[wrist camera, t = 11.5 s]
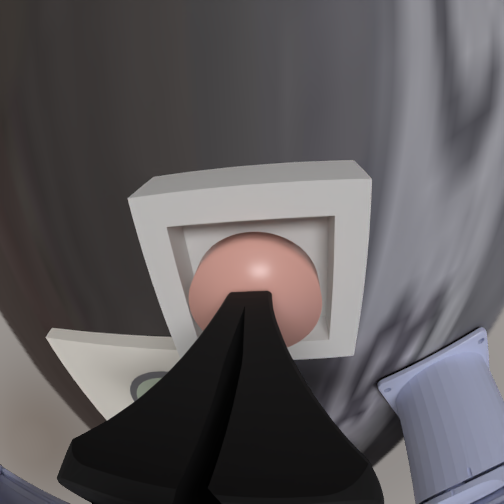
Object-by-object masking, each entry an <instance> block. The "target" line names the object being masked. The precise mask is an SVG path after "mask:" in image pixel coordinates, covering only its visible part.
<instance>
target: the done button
mask: <svg viewBox="0 0 504 504" xmlns="http://www.w3.org/2000/svg"><path fill="white" fill-rule="evenodd" d="M248 291H269V292H271V293H272V301H273V310H274V313H275V317H276V320H277V323H278V326H279V329H280V331H281V334H282V337H283V339H284V342H285V344H286V346H287V347H290V346H292V345H294V344H296V343H298V342H299V341H301V340H302V339H304V338H305V337H306V336H307V335H308V334H309V333H310V332H311V331H312V330H313V329H314V327H315V326H316V324H317V322H318V320H319V318H320V315H321V311H322V296H321V290H320V284H319V278H318V274H317V270H316V268H315V265H314V263H313V262H312V260H311V258H310V257H309V256H308V255H307V253H306V252H305V251H304V250H303V249H302V248H300V247H299V246H298V245H296V244H295V243H294V242H292V241H290V240H288V239H286V238H284V237H281V236H278V235H275V234H271V233H266V232H244V233H239V234H235V235H231V236H229V237H226V238H224V239H222V240H220V241H219V242H217V243H216V244H214V245H213V246H212V247H211V248H210V249H209V250H208V251H207V252H206V253H205V255H204V256H203V257H202V259H201V261H200V263H199V265H198V268H197V270H196V273H195V275H194V278H193V280H192V283H191V286H190V289H189V296H188V297H189V306H190V310H191V313H192V316H193V318H194V319H195V321H196V323H197V324H198V325H199V327H200V328H201V329H202V330H203V331H204V329H205V328H206V327H207V325H208V324H209V322H210V321H211V320H212V318H213V317H214V315H215V314H216V312H217V311H218V309H219V308H220V306H221V305H222V303H223V302H224V300H225V298H226V297H227V295H228V294H229V293H230V292H248Z"/></svg>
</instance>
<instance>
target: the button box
mask: <svg viewBox="0 0 504 504" xmlns="http://www.w3.org/2000/svg"><path fill="white" fill-rule="evenodd" d="M371 188H372V179H371V177H370V176H369V175H368V174H367V173H366V172H365V171H364V170H363V169H362V168H361V167H360V166H359V165H358V164H357V163H356V162H355V161H354V160H337V161H310V162H291V163H275V164H262V165H250V166H238V167H228V168H219V169H210V170H201V171H193V172H185V173H177V174H170V175H163V176H156V177H153V178H152V179H150V180H149V181H148V182H147V183H145V184H144V185H143V186H142V187H141V188H139V189H138V190H137V191H136V192H135V193H133V194H132V195H131V196H130V197H129V198H128V202H129V205H130V209H131V213H132V217H133V220H134V224H135V228H136V231H137V235H138V238H139V241H140V245H141V248H142V251H143V255H144V258H145V261H146V264H147V268H148V271H149V274H150V277H151V280H152V283H153V286H154V289H155V292H156V295H157V298H158V301H159V303H160V306H161V309H162V312H163V315H164V317H165V320H166V323H167V326H168V328H169V331H170V333H171V336H172V339H173V341H174V344H175V346H176V349H177V351H178V354H179V356H180V359H181V358H182V357H183V356H184V354H185V353H186V352H187V351H188V350H189V348H190V347H191V346H192V345H193V344H194V342H195V341H196V340H197V339H198V337H199V336H200V335H201V333H202V332H203V330H202V329H201V328H200V327H199V325H198V324H197V323H196V321H195V319H194V318H193V316H192V313H191V310H190V306H189V297H188V296H189V289H190V286H191V283H192V280H193V278H194V275H195V273H196V270H197V268H198V265H199V263H200V261H201V259H202V257H203V256H204V255H205V253H206V252H207V251H208V250H209V249H210V248H211V247H212V246H213V245H214V244H216V243H217V242H219V241H220V240H222V239H224V238H226V237H229V236H231V235H235V234H239V233H244V232H266V233H271V234H275V235H278V236H281V237H284V238H286V239H288V240H290V241H292V242H294V243H295V244H296V245H298V246H299V247H300V248H302V249H303V250H304V251H305V252H306V253H307V255H308V256H309V257H310V258H311V260H312V262H313V263H314V265H315V268H316V270H317V274H318V278H319V284H320V290H321V296H322V311H321V315H320V318H319V320H318V322H317V324H316V326H315V327H314V329H313V330H312V331H311V332H310V333H309V334H308V335H307V336H306V337H305V338H304V339H302V340H301V341H299V342H298V343H296V344H294V345H292V346H290V347H287V348H288V350H289V353H290V355H291V357H292V359H293V360H300V359H317V358H332V357H344V356H354V350H355V345H356V339H357V333H358V326H359V320H360V313H361V306H362V299H363V291H364V282H365V273H366V264H367V253H368V241H369V228H370V211H371Z"/></svg>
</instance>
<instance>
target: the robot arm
mask: <svg viewBox="0 0 504 504" xmlns="http://www.w3.org/2000/svg"><path fill="white" fill-rule="evenodd" d="M377 385H378V389H379V391H380V392H381V394H382V395H383V396H384V398H385V399H386V400H387V402H388V403H389V404H390V406H391V407H392V409H393V410H394V411H395V413H396V414H397V415H398V417H399V418H400V421H401V426H402V430H403V435H404V440H405V445H406V450H407V455H408V460H409V465H410V471H411V477H412V482H413V489H414V496H415V502H416V504H504V401H503V399H502V397H501V394H500V392H499V390H498V387H497V385H496V383H495V381H494V379H493V377H492V375H491V372H490V370H489V354H488V341H487V332H486V330H485V329H484V328H483V327H480V328H478V329H476V330H475V331H473V332H471V333H470V334H468V335H467V336H465V337H463V338H462V339H460V340H458V341H456V342H455V343H453V344H451V345H449V346H448V347H446V348H444V349H442V350H440V351H439V352H437V353H435V354H433V355H431V356H429V357H427V358H425V359H424V360H422V361H420V362H418V363H416V364H414V365H412V366H410V367H408V368H406V369H403V370H401V371H399V372H397V373H395V374H393V375H391V376H388V377H386V378H384V379H382V380H380V381H379V382H378V384H377ZM57 480H58V482H59V483H60V484H61V485H63V486H64V487H65V488H67V489H68V490H70V491H72V492H73V493H75V494H77V495H78V496H80V497H82V498H84V499H85V500H87V501H89V502H91V503H92V504H384V497H383V493H382V489H381V486H380V483H379V481H378V478H377V476H376V474H375V472H374V470H373V468H372V465H371V463H370V462H369V460H368V459H367V458H366V457H365V456H364V455H363V454H362V453H361V452H360V451H359V450H358V449H357V448H356V447H355V446H354V445H353V444H352V443H351V442H350V441H349V440H348V438H347V437H346V436H345V435H344V434H343V433H342V431H341V430H340V429H339V428H338V427H337V426H336V424H335V423H334V422H333V421H332V419H331V418H330V417H329V415H328V414H327V413H326V411H325V410H324V409H323V407H322V406H321V404H320V403H319V402H318V400H317V399H316V398H315V396H314V395H313V393H312V392H311V390H310V388H309V387H308V385H307V384H306V382H305V380H304V379H303V377H302V375H301V374H300V372H299V370H298V368H297V366H296V365H295V363H294V361H293V359H292V357H291V355H290V353H289V350H288V348H287V346H286V344H285V342H284V339H283V337H282V334H281V331H280V329H279V326H278V323H277V320H276V317H275V313H274V310H273V301H272V293H271V292H269V291H248V292H230V293H229V294H228V295H227V297H226V298H225V300H224V302H223V303H222V305H221V306H220V308H219V309H218V311H217V312H216V314H215V315H214V317H213V318H212V320H211V321H210V322H209V324H208V325H207V327H206V328H205V329H204V331H203V332H202V333H201V335H200V336H199V337H198V339H197V340H196V341H195V342H194V344H193V345H192V346H191V347H190V348H189V350H188V351H187V352H186V353H185V354H184V356H183V357H182V358H181V359H180V360H179V361H178V362H177V363H176V364H175V365H174V366H173V368H172V369H171V370H170V371H169V372H168V373H167V374H166V375H165V376H164V377H162V378H161V379H160V380H159V381H158V382H157V383H156V384H155V385H154V386H153V387H151V388H150V389H149V390H148V391H147V392H146V393H145V394H143V395H142V396H141V397H140V398H138V399H137V400H136V401H135V402H133V403H132V404H130V405H129V406H128V407H126V408H125V409H123V410H122V411H121V412H119V413H118V414H116V415H115V416H113V417H112V418H110V419H109V420H107V421H105V422H104V423H102V424H100V425H99V426H97V427H95V428H93V429H91V430H89V431H88V432H86V433H84V434H82V435H80V436H78V437H76V438H74V439H73V440H72V442H71V444H70V446H69V448H68V450H67V453H66V455H65V458H64V460H63V463H62V465H61V468H60V471H59V474H58V476H57ZM0 504H70V503H67V502H65V501H63V500H61V499H59V498H57V497H55V496H53V495H51V494H49V493H47V492H44V491H43V490H41V489H39V488H37V487H35V486H34V485H32V484H30V483H28V482H27V481H25V480H23V479H21V478H20V477H18V476H16V475H15V474H13V473H12V472H10V471H8V470H7V469H5V468H4V467H2V465H1V464H0Z"/></svg>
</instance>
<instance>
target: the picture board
mask: <svg viewBox="0 0 504 504" xmlns="http://www.w3.org/2000/svg"><path fill="white" fill-rule="evenodd" d="M46 339H47V340H48V342H49V343H50V345H51V347H52V348H53V350H54V351H55V353H56V354H57V356H58V357H59V359H60V360H61V362H62V363H63V365H64V366H65V367H66V369H67V370H68V372H69V373H70V374H71V376H72V377H73V379H74V380H75V381H76V383H77V384H78V385H79V387H80V388H81V389H82V391H83V392H84V393H85V394H86V396H87V397H88V398H89V400H90V401H91V402H92V403H93V404H94V406H95V407H96V408H97V409H98V411H99V412H100V413H101V414H102V415H103V416H104V418H105V419H106V420H109V419H110V418H112V417H113V416H115V415H116V414H118V413H119V412H121V411H122V410H123V409H125V408H126V407H128V406H129V405H130V404H132V403H133V402H135V401H136V400H137V399H138V398H140V397H141V396H142V395H143V394H145V393H146V392H147V391H148V390H149V389H150V388H151V387H153V386H154V385H155V384H156V383H157V382H158V381H159V380H160V379H161V378H162V377H164V376H165V375H166V374H167V373H168V372H169V371H170V370H171V369H172V368H173V366H174V365H175V364H176V363H177V362H178V361H179V360H180V356H179V354H178V351H177V349H176V346H175V344H174V341H173V339H172V337H160V336H139V335H123V334H109V333H97V332H86V331H76V330H67V329H58V328H52V329H51V330H50V332H49V333H48V335H47V336H46Z"/></svg>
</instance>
